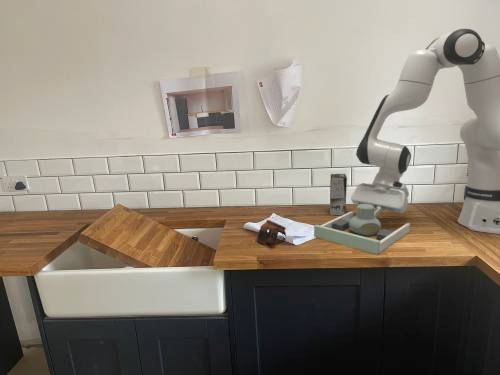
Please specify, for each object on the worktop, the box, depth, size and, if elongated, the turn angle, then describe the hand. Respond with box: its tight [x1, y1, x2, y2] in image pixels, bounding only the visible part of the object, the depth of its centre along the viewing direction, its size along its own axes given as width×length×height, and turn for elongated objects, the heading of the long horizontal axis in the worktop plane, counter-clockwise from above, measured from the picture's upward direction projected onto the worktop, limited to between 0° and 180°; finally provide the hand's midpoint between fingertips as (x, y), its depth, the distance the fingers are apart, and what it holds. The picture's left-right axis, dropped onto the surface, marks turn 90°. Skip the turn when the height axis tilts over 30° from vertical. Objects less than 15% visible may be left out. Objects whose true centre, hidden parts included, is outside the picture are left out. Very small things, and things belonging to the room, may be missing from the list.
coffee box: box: [329, 173, 348, 216], centre depth 146 cm, size 9×6×16 cm
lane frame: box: [313, 211, 411, 255], centre depth 122 cm, size 23×26×4 cm
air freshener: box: [349, 204, 382, 237], centre depth 122 cm, size 11×8×10 cm
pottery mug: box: [256, 219, 287, 246], centre depth 117 cm, size 12×10×8 cm
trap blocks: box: [332, 219, 395, 241], centre depth 122 cm, size 21×6×2 cm, turn 46°
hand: (370, 217), depth 126 cm, fingers closed, pressing on air freshener
